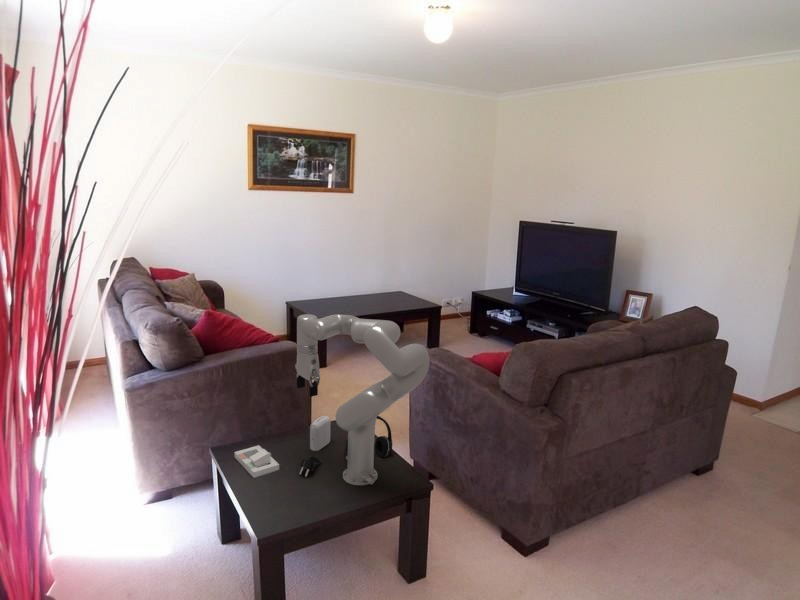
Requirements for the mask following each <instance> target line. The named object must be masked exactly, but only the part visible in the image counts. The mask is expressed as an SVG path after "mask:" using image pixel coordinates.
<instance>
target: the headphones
mask: <svg viewBox="0 0 800 600" xmlns="http://www.w3.org/2000/svg"><path fill="white" fill-rule="evenodd" d="M376 420H380V421H381V422H383V424H384V425H385V427H386V430H387V436H386V435H380V436H377V438H376V439H375V441H374V453H375V454H376V456H378V457H380V458H385V457H388V456H389V454H390V453H392V451H393V438H392V437H393V436H392V431H391V430H392V429H391V427H390V425H389V423H388V421H386V420H385V419H384V418H383V417H381V416H380V415H378V416H377V418H376ZM343 450H344V451H343V459H344V462H345V463H346V464H347V461H348V437H347V439H346V442H345V446H344V449H343Z"/></svg>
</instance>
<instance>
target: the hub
mask: <svg viewBox="0 0 800 600" xmlns="http://www.w3.org/2000/svg"><path fill="white" fill-rule="evenodd" d="M263 449H264V448H262V446H260V445H259V444H257V445H254V446H251V447H248V448H244V449H241V450H237V451H234V459H235V460H236V461H237V462H238V463H239V464H240V466H242V468H243V469H244V470H245V471H246V472H247V473H248V474H249V475H250V477H252V478H253V479H257V478H259V477H262V476H266V475H268V474H272V473H274V472H279V471H280V464H279V463H278V462H277V461H276V460H275V459H274V458H273V457H272V455H271V456H270V459H271V462H270V463H269V464H267V465H265V466H262V467H259V468H256V467H255V466H254V464H253V463H252V462H251V460H250V456H252V455H254V454H256V453H258V452H259V451H261V450H263Z"/></svg>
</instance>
